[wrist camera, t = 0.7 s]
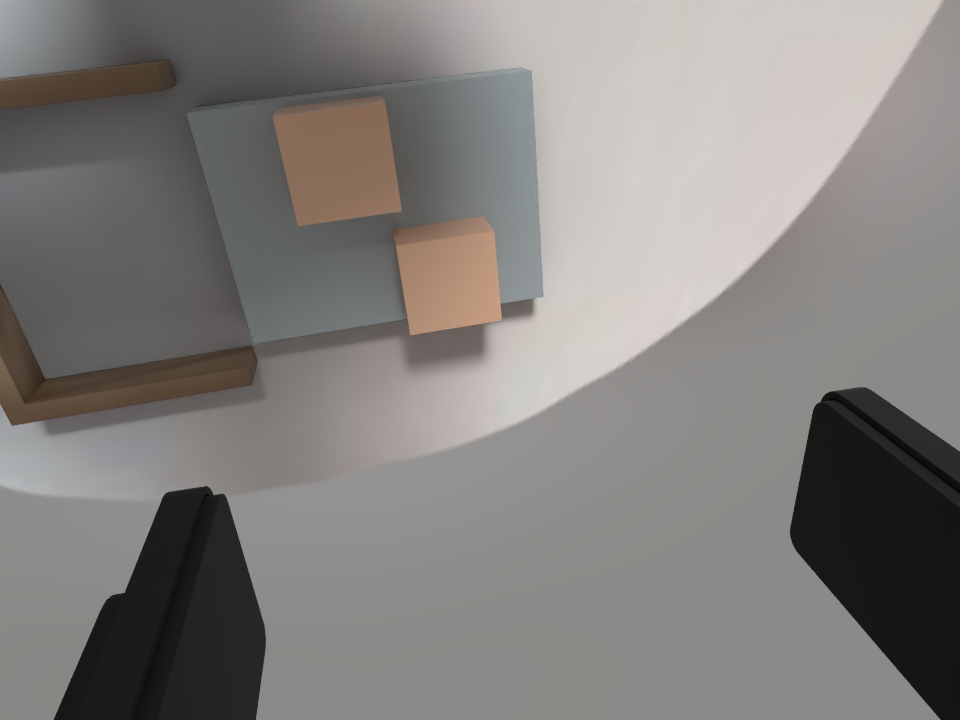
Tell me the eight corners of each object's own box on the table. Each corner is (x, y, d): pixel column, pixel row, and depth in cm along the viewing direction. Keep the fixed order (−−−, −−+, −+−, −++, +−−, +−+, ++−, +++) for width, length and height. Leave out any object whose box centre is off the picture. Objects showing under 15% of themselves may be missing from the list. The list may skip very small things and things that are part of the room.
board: (195, 107, 30) (185, 112, 28) (520, 67, 31) (531, 70, 30) (257, 327, 35) (253, 344, 33) (533, 283, 37) (543, 296, 35)
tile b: (392, 229, 32) (395, 245, 30) (484, 216, 32) (494, 231, 30) (405, 314, 34) (410, 335, 32) (491, 300, 35) (501, 320, 32)
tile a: (277, 108, 29) (272, 116, 26) (381, 95, 29) (385, 102, 27) (301, 211, 31) (298, 226, 29) (397, 197, 31) (402, 211, 29)
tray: (-119, 92, 27) (-159, 99, 25) (169, 59, 29) (155, 63, 27) (32, 399, 35) (12, 425, 32) (257, 362, 36) (252, 384, 34)
